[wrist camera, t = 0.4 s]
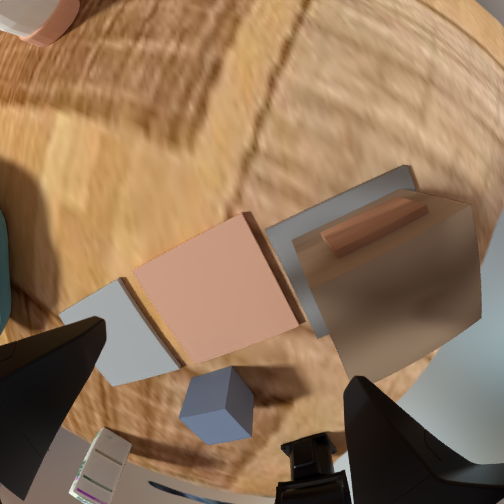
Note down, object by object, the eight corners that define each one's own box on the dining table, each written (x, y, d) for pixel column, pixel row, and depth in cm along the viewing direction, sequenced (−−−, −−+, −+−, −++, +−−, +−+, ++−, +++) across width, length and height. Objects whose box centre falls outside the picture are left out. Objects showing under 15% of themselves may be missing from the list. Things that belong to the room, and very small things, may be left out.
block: (254, 395, 27) (251, 437, 21) (215, 405, 28) (207, 444, 22) (231, 365, 26) (224, 408, 20) (191, 377, 27) (178, 418, 21)
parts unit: (433, 274, 22) (494, 322, 13) (316, 334, 24) (337, 412, 15) (402, 164, 19) (480, 169, 10) (265, 229, 22) (266, 275, 12)
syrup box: (103, 425, 32) (70, 490, 18) (134, 444, 32) (108, 511, 19) (96, 434, 33) (66, 493, 19) (124, 452, 34) (100, 512, 20)
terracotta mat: (298, 322, 24) (299, 325, 23) (196, 360, 26) (195, 364, 25) (242, 212, 21) (241, 213, 21) (134, 268, 23) (132, 271, 22)
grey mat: (181, 365, 26) (179, 369, 25) (114, 383, 28) (112, 386, 27) (120, 277, 23) (117, 279, 23) (61, 312, 25) (58, 314, 25)
